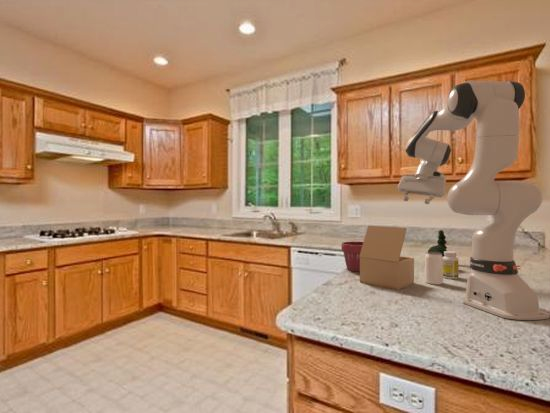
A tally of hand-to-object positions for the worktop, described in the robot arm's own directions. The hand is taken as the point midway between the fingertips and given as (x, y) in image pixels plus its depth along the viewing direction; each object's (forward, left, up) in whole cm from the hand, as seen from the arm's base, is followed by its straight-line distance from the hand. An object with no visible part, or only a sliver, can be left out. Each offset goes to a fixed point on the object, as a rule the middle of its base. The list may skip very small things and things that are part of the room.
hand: (415, 201), depth 146 cm
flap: (-18, +23, -16) cm, 33 cm away
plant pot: (+10, +24, -33) cm, 42 cm away
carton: (-15, +20, -32) cm, 41 cm away
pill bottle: (-9, -10, -33) cm, 35 cm away
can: (-17, +2, -33) cm, 37 cm away
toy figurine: (+14, -19, -33) cm, 40 cm away
